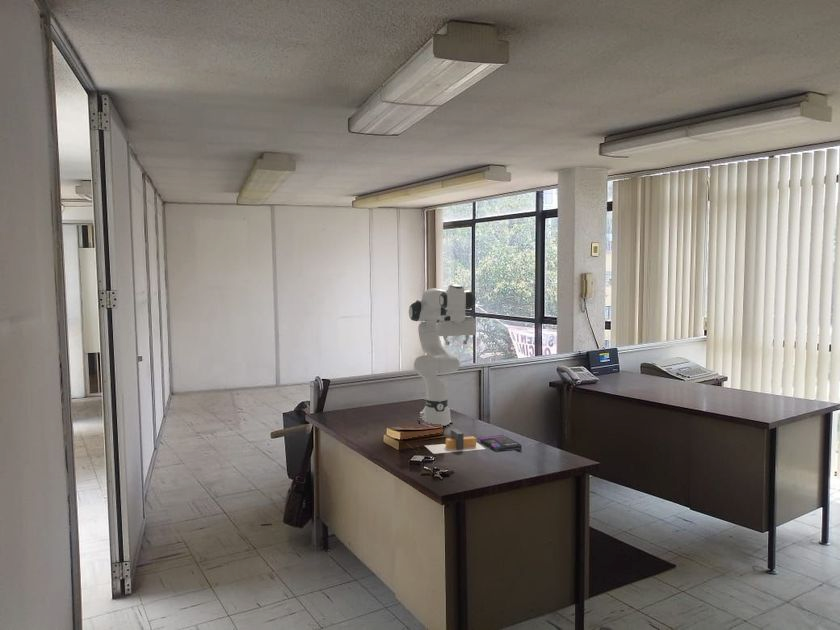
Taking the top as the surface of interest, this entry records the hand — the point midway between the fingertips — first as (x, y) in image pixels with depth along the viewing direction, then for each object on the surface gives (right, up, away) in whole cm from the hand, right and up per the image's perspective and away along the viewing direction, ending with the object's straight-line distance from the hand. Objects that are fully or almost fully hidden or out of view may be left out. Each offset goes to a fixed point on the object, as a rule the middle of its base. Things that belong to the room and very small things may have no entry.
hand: (456, 344), depth 307 cm
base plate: (-2, -49, -15) cm, 51 cm away
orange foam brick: (+1, -48, -15) cm, 50 cm away
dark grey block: (-1, -48, -15) cm, 50 cm away
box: (+20, -49, -11) cm, 54 cm away
